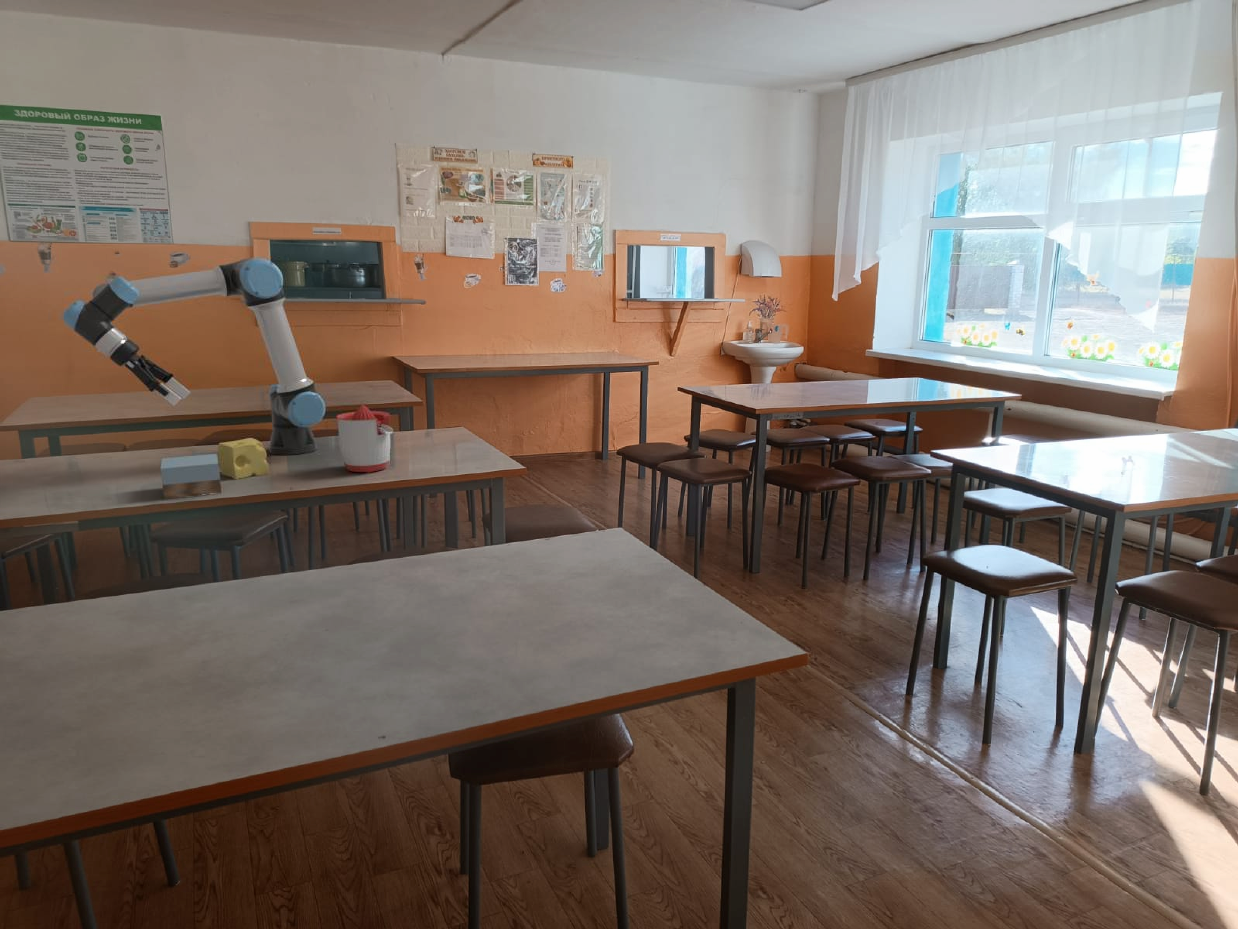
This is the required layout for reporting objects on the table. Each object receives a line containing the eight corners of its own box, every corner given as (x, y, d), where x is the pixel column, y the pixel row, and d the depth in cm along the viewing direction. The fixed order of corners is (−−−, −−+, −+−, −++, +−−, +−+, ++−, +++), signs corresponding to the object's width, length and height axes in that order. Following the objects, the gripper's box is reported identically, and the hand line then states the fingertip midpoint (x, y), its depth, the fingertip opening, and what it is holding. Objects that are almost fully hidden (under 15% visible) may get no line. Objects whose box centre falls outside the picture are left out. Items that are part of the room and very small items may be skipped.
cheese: (269, 474, 256) (266, 441, 254) (233, 480, 248) (230, 447, 246) (254, 468, 263) (251, 437, 261) (219, 474, 255) (215, 442, 253)
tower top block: (218, 468, 245) (216, 453, 244) (220, 479, 233) (218, 463, 231) (164, 474, 239) (162, 458, 238) (162, 485, 226) (160, 468, 225)
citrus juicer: (377, 477, 252) (373, 410, 248) (329, 472, 258) (324, 407, 253) (407, 466, 266) (404, 403, 262) (361, 461, 272) (357, 400, 268)
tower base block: (220, 484, 246) (218, 469, 245) (221, 495, 234) (220, 479, 233) (165, 489, 240) (163, 474, 239) (164, 501, 227) (162, 484, 226)
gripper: (121, 353, 250) (182, 402, 258) (95, 361, 227) (164, 415, 234) (139, 335, 251) (199, 384, 258) (115, 341, 227) (183, 395, 235)
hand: (182, 399), depth 246 cm, fingers open, 13 cm apart
